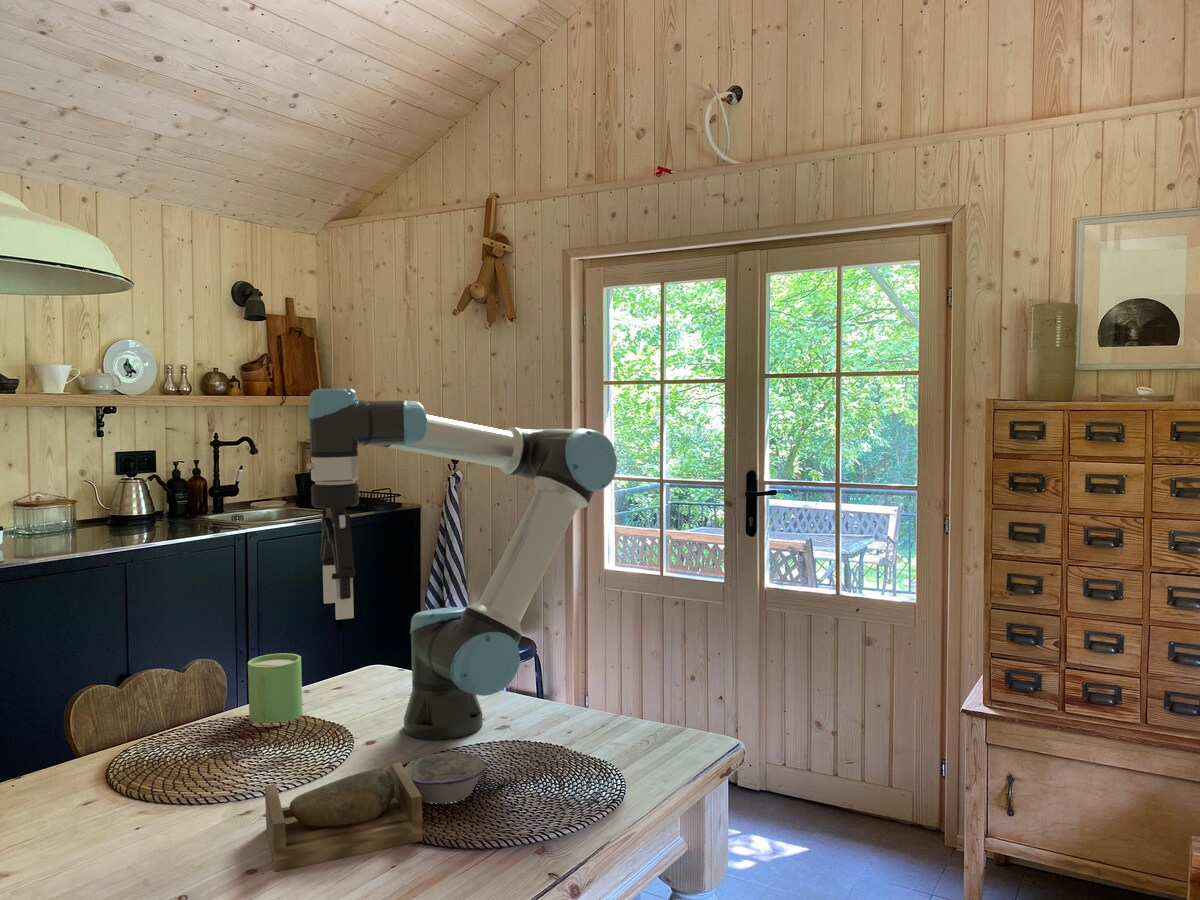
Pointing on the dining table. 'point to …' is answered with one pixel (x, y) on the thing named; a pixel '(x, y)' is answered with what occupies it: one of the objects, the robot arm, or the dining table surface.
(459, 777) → the bowl
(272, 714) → the mug
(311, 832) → the rack
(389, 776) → the stone
